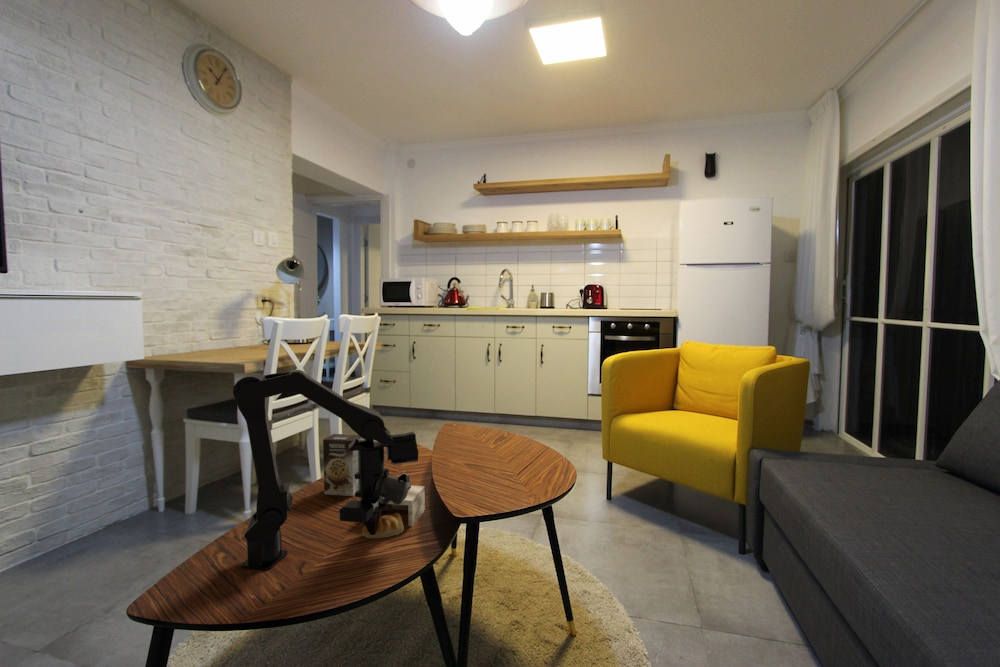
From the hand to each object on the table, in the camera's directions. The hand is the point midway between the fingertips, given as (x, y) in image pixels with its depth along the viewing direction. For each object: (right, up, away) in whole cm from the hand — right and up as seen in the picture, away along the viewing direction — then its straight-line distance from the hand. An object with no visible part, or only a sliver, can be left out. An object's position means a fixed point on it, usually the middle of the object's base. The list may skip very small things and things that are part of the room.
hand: (373, 534), depth 102 cm
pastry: (+2, -2, +4) cm, 5 cm away
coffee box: (-17, 0, +28) cm, 33 cm away
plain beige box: (+2, -1, +12) cm, 13 cm away
